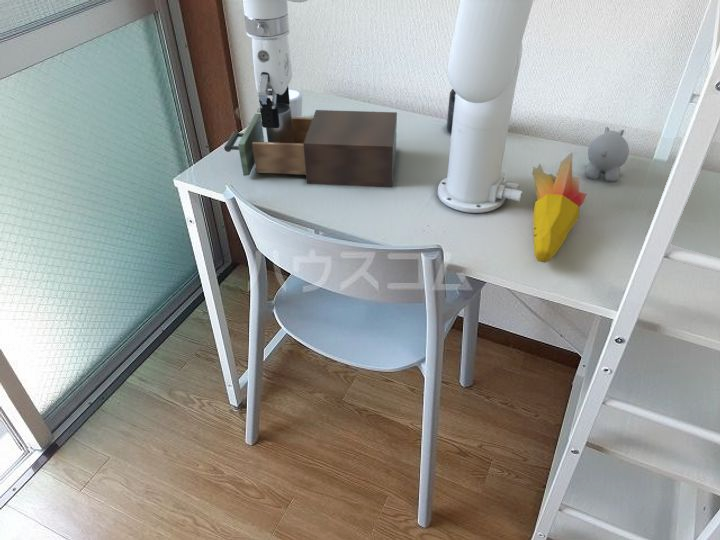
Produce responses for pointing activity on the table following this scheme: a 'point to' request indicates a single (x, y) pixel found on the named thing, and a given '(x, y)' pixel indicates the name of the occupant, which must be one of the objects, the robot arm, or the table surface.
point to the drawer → (271, 149)
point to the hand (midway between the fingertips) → (276, 115)
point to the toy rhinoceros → (607, 155)
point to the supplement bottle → (451, 110)
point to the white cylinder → (295, 102)
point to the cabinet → (351, 148)
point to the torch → (555, 208)
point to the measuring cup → (281, 126)
